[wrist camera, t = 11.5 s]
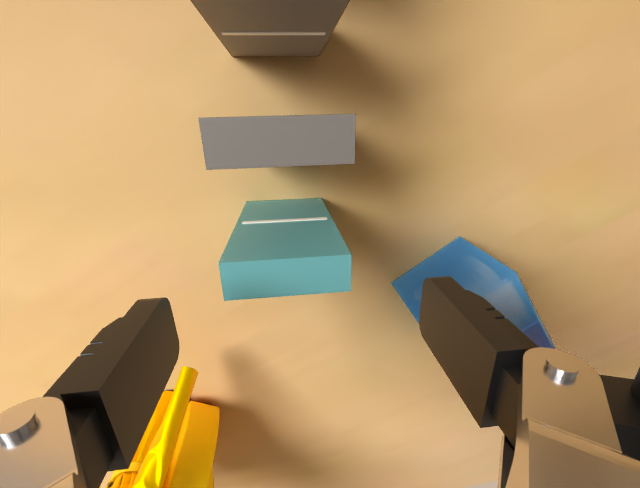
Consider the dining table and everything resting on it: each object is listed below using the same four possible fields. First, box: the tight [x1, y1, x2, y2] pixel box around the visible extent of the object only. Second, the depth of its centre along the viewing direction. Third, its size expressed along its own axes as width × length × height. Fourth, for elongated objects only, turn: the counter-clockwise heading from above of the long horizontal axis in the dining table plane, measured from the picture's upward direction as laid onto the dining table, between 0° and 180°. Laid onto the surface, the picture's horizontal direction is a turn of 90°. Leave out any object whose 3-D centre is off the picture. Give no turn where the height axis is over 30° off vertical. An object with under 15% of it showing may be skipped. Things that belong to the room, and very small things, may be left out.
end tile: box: [219, 198, 352, 301], centre depth 17 cm, size 5×2×10 cm, turn 92°
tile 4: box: [199, 114, 355, 170], centre depth 15 cm, size 5×2×10 cm, turn 92°
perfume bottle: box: [391, 237, 555, 349], centre depth 20 cm, size 6×6×12 cm
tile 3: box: [191, 0, 350, 56], centre depth 13 cm, size 5×2×10 cm, turn 92°
